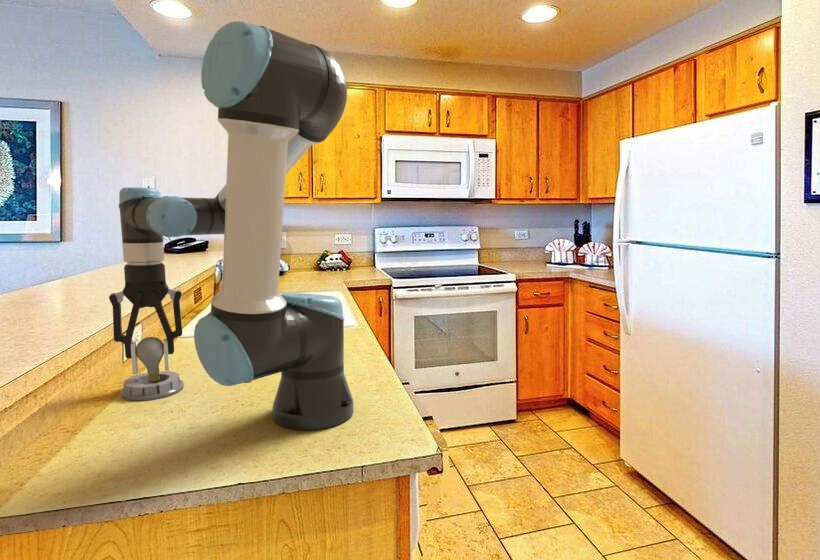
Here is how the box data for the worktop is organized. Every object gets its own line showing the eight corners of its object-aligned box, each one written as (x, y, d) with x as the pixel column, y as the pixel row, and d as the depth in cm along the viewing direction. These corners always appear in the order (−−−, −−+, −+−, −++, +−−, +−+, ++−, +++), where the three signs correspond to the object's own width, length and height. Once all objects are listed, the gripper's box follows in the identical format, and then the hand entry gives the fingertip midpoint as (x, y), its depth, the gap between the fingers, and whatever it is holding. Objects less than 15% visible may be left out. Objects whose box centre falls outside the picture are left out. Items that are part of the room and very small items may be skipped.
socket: (183, 395, 103) (182, 383, 103) (117, 404, 99) (116, 392, 98) (183, 378, 114) (183, 367, 114) (124, 385, 110) (123, 374, 109)
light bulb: (161, 375, 110) (156, 332, 109) (173, 380, 107) (167, 336, 105) (136, 383, 106) (129, 338, 105) (147, 388, 103) (140, 342, 101)
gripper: (192, 259, 110) (197, 360, 113) (95, 262, 103) (104, 370, 106) (192, 263, 103) (198, 370, 106) (89, 266, 96) (98, 381, 99)
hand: (151, 370), depth 106 cm, fingers closed on light bulb, 5 cm apart
